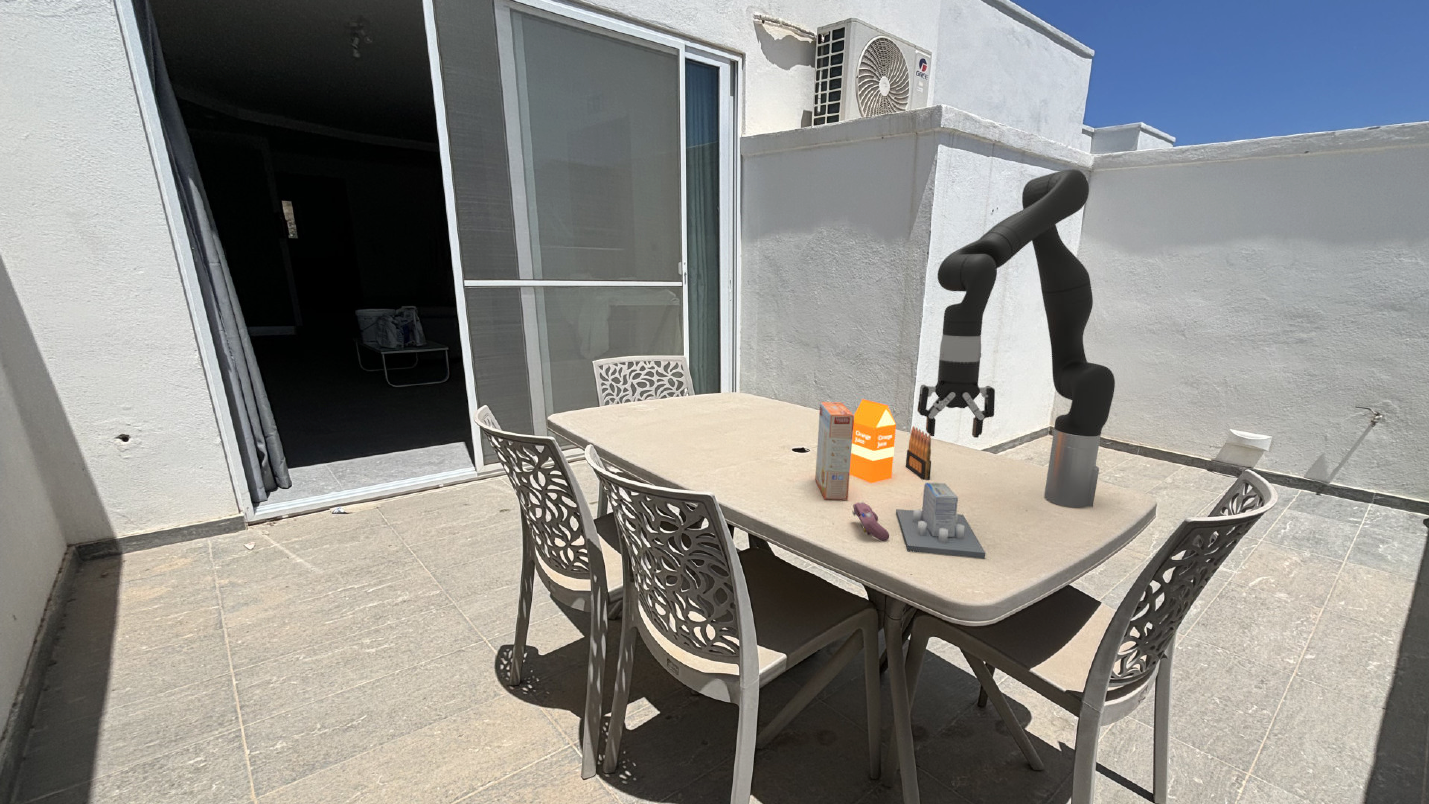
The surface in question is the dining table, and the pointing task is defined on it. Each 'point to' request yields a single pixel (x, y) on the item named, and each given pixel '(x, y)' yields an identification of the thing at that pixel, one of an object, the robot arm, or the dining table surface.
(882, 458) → the orange juice
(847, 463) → the cracker box
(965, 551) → the stub jig
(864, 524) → the video game controller
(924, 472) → the ammunition clip
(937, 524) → the medicine box
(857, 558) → the dining table surface
